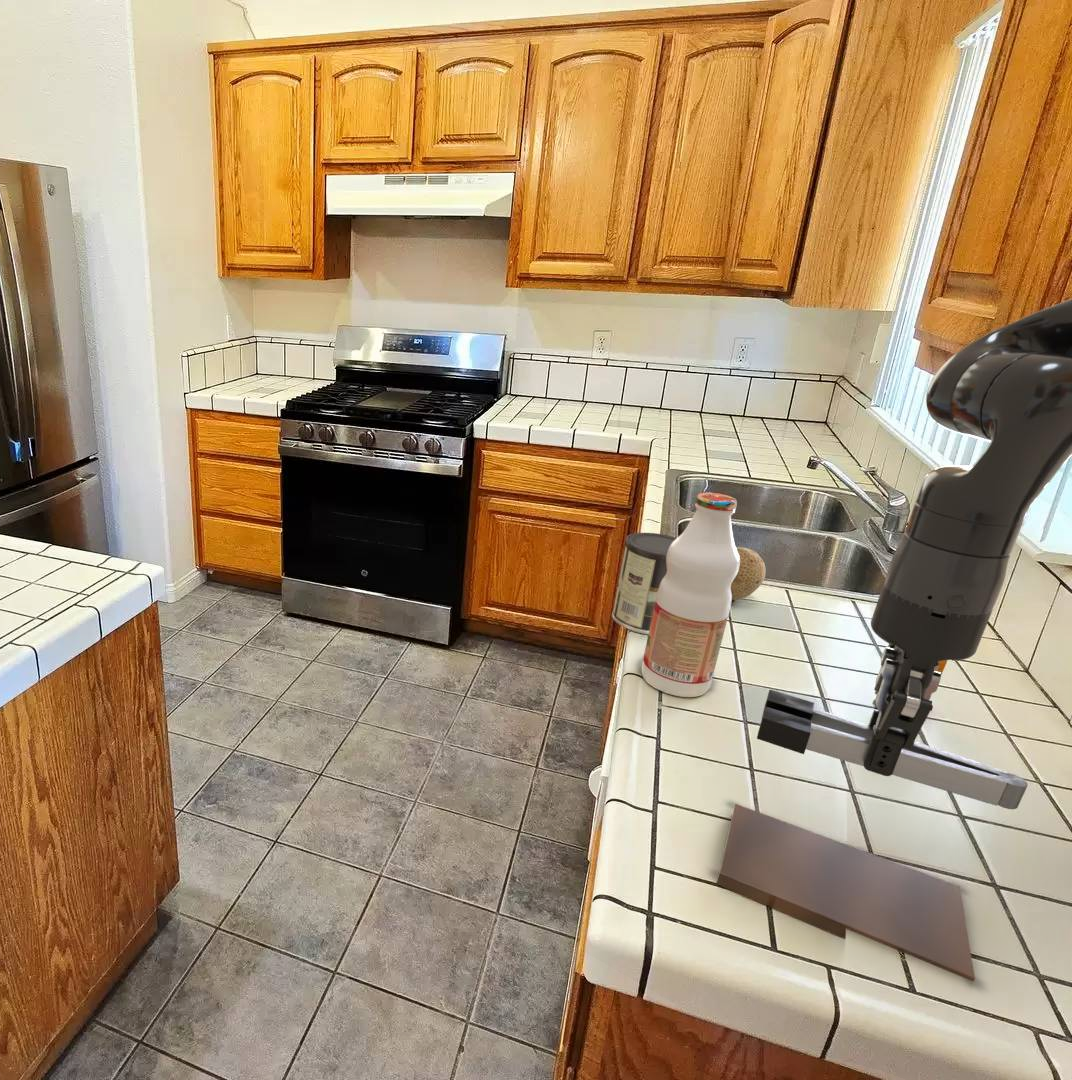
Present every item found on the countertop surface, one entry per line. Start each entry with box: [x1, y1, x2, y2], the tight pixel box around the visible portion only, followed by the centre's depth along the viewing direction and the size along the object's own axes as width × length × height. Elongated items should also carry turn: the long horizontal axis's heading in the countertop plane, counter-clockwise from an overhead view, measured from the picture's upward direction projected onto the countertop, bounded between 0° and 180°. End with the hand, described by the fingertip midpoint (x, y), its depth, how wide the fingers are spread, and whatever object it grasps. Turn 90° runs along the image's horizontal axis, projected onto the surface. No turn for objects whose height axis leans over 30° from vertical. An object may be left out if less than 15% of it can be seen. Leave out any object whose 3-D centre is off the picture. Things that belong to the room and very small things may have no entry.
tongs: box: [756, 689, 1028, 810], centre depth 69 cm, size 20×6×2 cm, turn 57°
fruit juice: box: [641, 491, 740, 698], centre depth 104 cm, size 9×9×28 cm
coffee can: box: [611, 532, 677, 635], centre depth 124 cm, size 10×10×14 cm
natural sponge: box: [730, 546, 767, 601], centre depth 135 cm, size 9×9×10 cm
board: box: [715, 803, 976, 982], centre depth 73 cm, size 20×12×2 cm, turn 58°
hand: (876, 758), depth 70 cm, fingers closed on tongs, 3 cm apart
